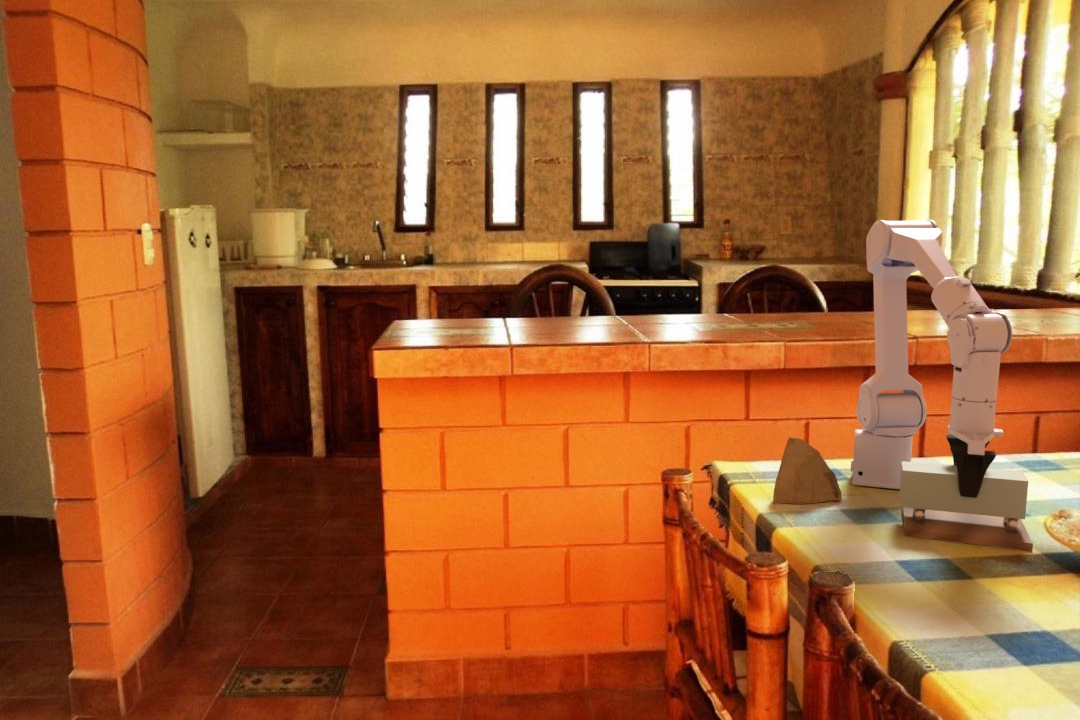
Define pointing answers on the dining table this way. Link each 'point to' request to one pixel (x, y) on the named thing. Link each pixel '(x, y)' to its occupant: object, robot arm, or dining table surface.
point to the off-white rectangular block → (941, 492)
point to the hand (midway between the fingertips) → (966, 490)
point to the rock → (804, 476)
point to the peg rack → (966, 528)
